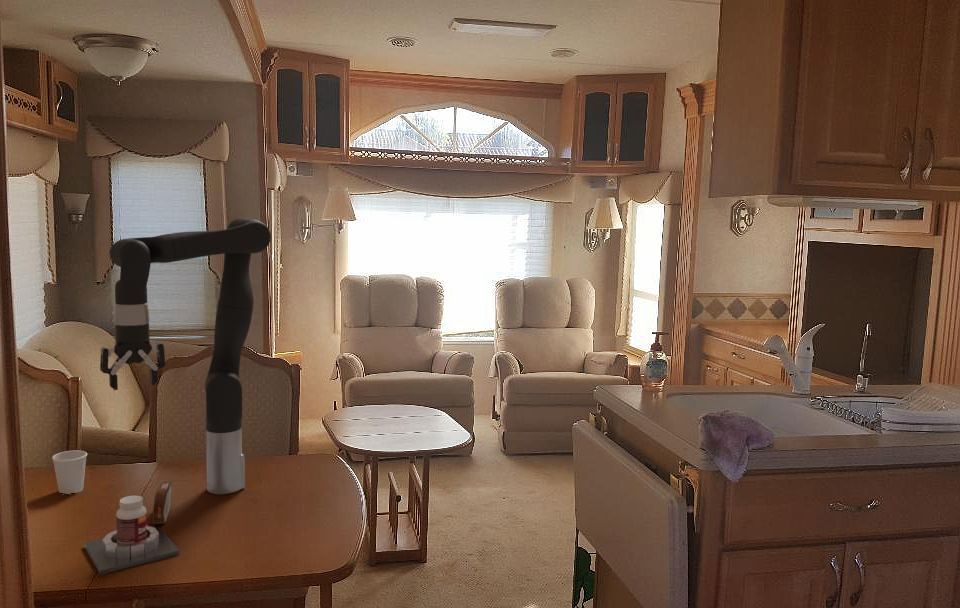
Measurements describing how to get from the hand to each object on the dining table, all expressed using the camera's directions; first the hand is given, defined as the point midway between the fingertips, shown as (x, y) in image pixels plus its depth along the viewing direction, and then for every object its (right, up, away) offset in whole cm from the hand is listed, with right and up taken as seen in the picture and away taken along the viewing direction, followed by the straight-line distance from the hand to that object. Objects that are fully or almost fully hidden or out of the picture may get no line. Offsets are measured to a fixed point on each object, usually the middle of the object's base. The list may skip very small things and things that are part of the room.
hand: (134, 387), depth 177 cm
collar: (+6, -35, -15) cm, 39 cm away
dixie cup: (-26, -31, +19) cm, 45 cm away
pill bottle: (+7, -34, -14) cm, 38 cm away
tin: (+5, -33, +4) cm, 34 cm away
